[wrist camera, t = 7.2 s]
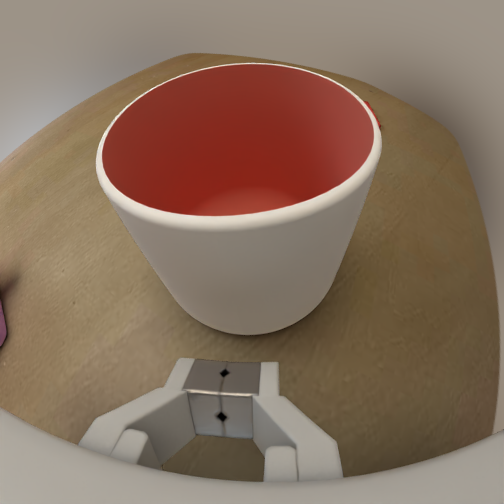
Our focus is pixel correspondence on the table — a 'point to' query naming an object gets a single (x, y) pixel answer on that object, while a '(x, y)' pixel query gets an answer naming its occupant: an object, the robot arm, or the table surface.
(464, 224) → the table surface
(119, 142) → the cup
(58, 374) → the table surface
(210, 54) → the table surface
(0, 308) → the teapot
